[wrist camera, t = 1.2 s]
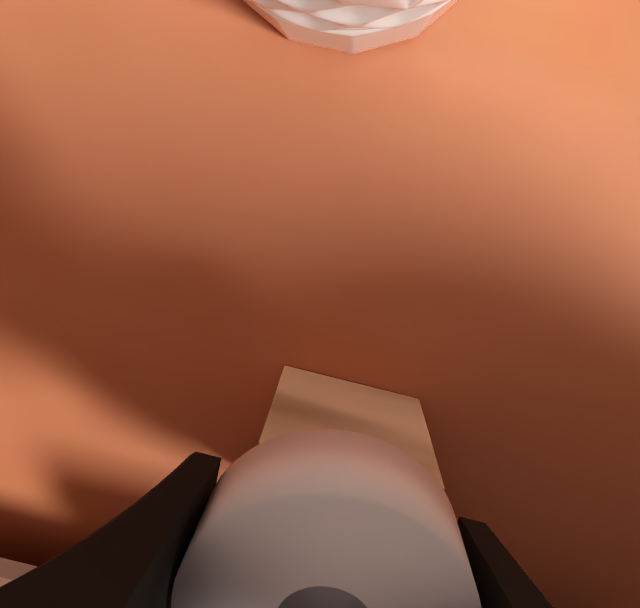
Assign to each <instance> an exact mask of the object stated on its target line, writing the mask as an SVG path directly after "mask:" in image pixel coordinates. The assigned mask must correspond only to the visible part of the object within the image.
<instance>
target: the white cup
mask: <svg viewBox="0 0 640 608" xmlns="http://www.w3.org/2000/svg"><path fill="white" fill-rule="evenodd" d="M243 1H244V2H245V3H246V4H247V5H249V6H250V7H251V8H252V9H253V10H255V11H256V12H257V13H258V14H259V15H260V16H262V17H263V18H264V19H265V20H266V21H268V22H269V23H270V24H271V25H272V26H273V27H275V28H276V29H277V30H278V31H279V32H281V33H282V34H283V35H284V36H285V37H286V38H288V39H289V40H291V41H294V42H298V43H303V44H307V45H312V46H316V47H321V48H325V49H330V50H334V51H339V52H343V53H347V54H352V55H353V54H357V53H361V52H364V51H368V50H372V49H375V48H379V47H382V46H386V45H390V44H393V43H397V42H400V41H404V40H408V39H411V38H415V37H417V36H418V35H420V34H421V33H422V32H423V31H424V30H425V29H426V28H428V27H429V26H430V25H431V24H432V23H433V22H434V21H435V20H437V19H438V18H439V17H440V16H441V15H442V14H443V13H445V12H446V11H447V10H448V9H449V8H450V7H451V6H453V5H454V4H455V3H456V2H457V1H458V0H243Z"/></svg>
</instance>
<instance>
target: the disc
mask: <svg viewBox="0 0 640 608" xmlns="http://www.w3.org/2000/svg"><path fill="white" fill-rule="evenodd" d="M171 608H482V607H481V603H480V598H479V594H478V591H477V587H476V584H475V581H474V577H473V574H472V570H471V567H470V564H469V560H468V557H467V554H466V550H465V547H464V543H463V540H462V537H461V533H460V530H459V527H458V523H457V520H456V516H455V513H454V510H453V508H452V505H451V503H450V501H449V498H448V497H447V495H446V493H445V491H444V490H443V488H442V486H441V485H440V484H439V482H438V481H437V480H436V479H435V477H434V476H433V475H432V474H431V473H430V472H429V471H428V470H427V469H426V468H425V467H424V466H423V465H422V464H421V463H420V462H419V461H417V460H416V459H415V458H413V457H412V456H410V455H409V454H408V453H406V452H405V451H403V450H401V449H399V448H397V447H396V446H394V445H392V444H390V443H388V442H385V441H383V440H380V439H378V438H375V437H372V436H369V435H365V434H361V433H358V432H352V431H345V430H338V429H313V430H302V431H297V432H292V433H288V434H284V435H281V436H278V437H275V438H272V439H269V440H267V441H265V442H263V443H261V444H259V445H257V446H255V447H253V448H252V449H250V450H249V451H247V452H246V453H244V454H243V455H241V456H240V457H239V458H238V459H237V460H236V461H235V462H233V463H232V464H231V465H230V466H229V467H228V469H227V470H226V471H225V472H224V473H223V475H222V476H221V477H220V478H219V480H218V482H217V483H216V485H215V487H214V488H213V490H212V493H211V495H210V497H209V500H208V502H207V504H206V507H205V509H204V511H203V514H202V516H201V518H200V521H199V523H198V525H197V528H196V530H195V532H194V535H193V537H192V539H191V542H190V544H189V546H188V549H187V551H186V553H185V556H184V558H183V560H182V563H181V565H180V568H179V570H178V573H177V575H176V578H175V581H174V586H173V590H172V596H171Z"/></svg>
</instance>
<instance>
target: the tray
mask: <svg viewBox="0 0 640 608" xmlns="http://www.w3.org/2000/svg"><path fill="white" fill-rule="evenodd" d="M36 567H37V566H33V565H29V564H25V563H21V562H17V561H13V560H9V559H5V558H1V557H0V587H1V586H3V585H5V584H7V583H9V582H10V581H12V580H14V579H16V578H18V577H20V576H22V575H24V574H25V573H27V572H29V571H31V570H33V569H34V568H36Z"/></svg>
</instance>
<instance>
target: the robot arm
mask: <svg viewBox="0 0 640 608" xmlns="http://www.w3.org/2000/svg"><path fill="white" fill-rule="evenodd" d="M220 462H221V458H219V457H215V456H211V455H207V454H203V453H199V452H195V453H193V454H191V455H190V456H189V457H188V458H187V459H185V460H184V461H183V462H182V463H181V464H180V465H179V466H178V467H177V468H176V469H175V470H174V471H173V472H171V473H170V474H169V475H168V476H167V477H166V478H165V479H163V480H162V481H161V482H160V483H159V484H158V485H156V486H155V487H154V488H153V489H151V490H150V491H149V492H148V493H147V494H145V495H144V496H143V497H142V498H140V499H139V500H138V501H137V502H135V503H134V504H133V505H131V506H130V507H129V508H128V509H126V510H125V511H123V512H122V513H121V514H119V515H118V516H116V517H115V518H114V519H112V520H111V521H109V522H108V523H107V524H105V525H104V526H103V527H101V528H100V529H98V530H97V531H95V532H94V533H92V534H91V535H89V536H88V537H86V538H85V539H83V540H82V541H80V542H79V543H77V544H75V545H74V546H72V547H71V548H69V549H67V550H66V551H64V552H62V553H61V554H59V555H57V556H56V557H54V558H52V559H51V560H49V561H47V562H45V563H44V564H42V565H40V566H38V567H36V568H34V569H33V570H31V571H29V572H27V573H25V574H24V575H22V576H20V577H18V578H16V579H14V580H12V581H10V582H9V583H7V584H5V585H3V586H1V587H0V608H171V596H172V590H173V586H174V581H175V578H176V575H177V573H178V570H179V568H180V565H181V563H182V560H183V558H184V556H185V553H186V551H187V549H188V546H189V544H190V542H191V539H192V537H193V535H194V532H195V530H196V528H197V525H198V523H199V521H200V518H201V516H202V514H203V511H204V509H205V507H206V504H207V502H208V500H209V497H210V495H211V493H212V490H213V488H214V487H215V485H216V481H217V476H218V471H219V467H220ZM457 523H458V527H459V530H460V533H461V537H462V540H463V543H464V547H465V550H466V554H467V557H468V560H469V564H470V567H471V570H472V574H473V577H474V581H475V584H476V587H477V591H478V594H479V598H480V603H481V607H482V608H553V607H552V606H551V604H550V603H549V602H548V601H547V600H546V598H545V597H544V596H543V595H542V594H541V592H540V591H539V590H538V589H537V587H536V586H535V585H534V584H533V582H532V581H531V580H530V579H529V577H528V576H527V575H526V574H525V572H524V571H523V570H522V569H521V567H520V566H519V565H518V563H517V562H516V561H515V560H514V558H513V557H512V556H511V555H510V553H509V552H508V551H507V549H506V548H505V547H504V546H503V544H502V543H501V542H500V541H499V539H498V538H497V537H496V536H495V534H494V533H493V532H492V531H491V530H490V529H489V527H488V526H487V525H486V524H485V523H483V522H479V521H474V520H470V519H466V518H462V517H459V519H458V521H457Z"/></svg>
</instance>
